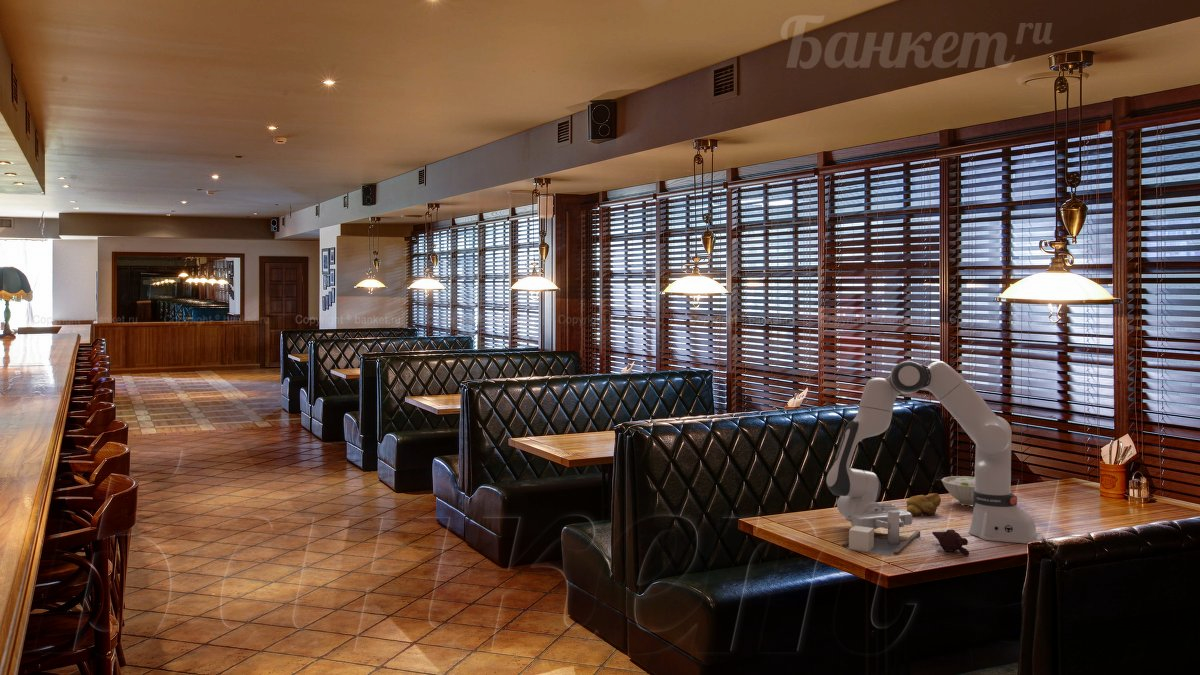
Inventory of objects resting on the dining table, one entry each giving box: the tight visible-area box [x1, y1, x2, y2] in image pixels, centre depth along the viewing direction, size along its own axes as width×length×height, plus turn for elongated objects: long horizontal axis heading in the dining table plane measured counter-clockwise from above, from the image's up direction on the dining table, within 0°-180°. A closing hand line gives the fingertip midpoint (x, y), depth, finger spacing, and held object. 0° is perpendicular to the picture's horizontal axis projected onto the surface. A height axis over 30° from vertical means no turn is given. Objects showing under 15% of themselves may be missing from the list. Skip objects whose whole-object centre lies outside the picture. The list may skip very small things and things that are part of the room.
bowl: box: [941, 475, 975, 505], centre depth 343 cm, size 19×19×10 cm
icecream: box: [931, 529, 970, 557], centre depth 283 cm, size 7×7×15 cm
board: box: [845, 510, 905, 557], centre depth 285 cm, size 14×18×11 cm
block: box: [848, 526, 875, 553], centre depth 283 cm, size 6×6×6 cm
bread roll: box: [906, 492, 942, 517], centre depth 329 cm, size 13×10×8 cm
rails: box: [841, 530, 921, 556], centre depth 292 cm, size 17×28×2 cm, turn 147°
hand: (895, 525), depth 287 cm, fingers closed on board, 3 cm apart
